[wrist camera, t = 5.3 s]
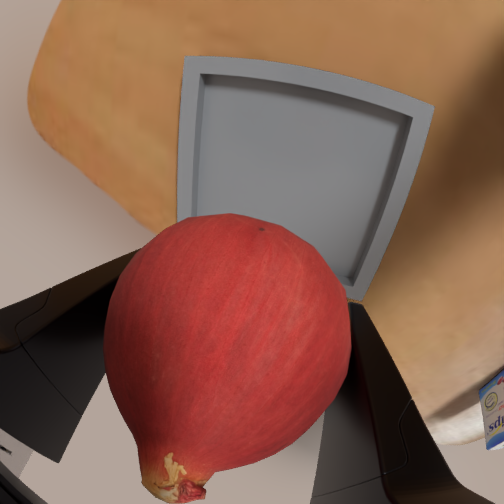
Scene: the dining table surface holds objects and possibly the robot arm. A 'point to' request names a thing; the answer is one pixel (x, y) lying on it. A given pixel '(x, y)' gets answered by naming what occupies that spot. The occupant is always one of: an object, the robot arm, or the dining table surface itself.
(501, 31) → the dining table surface
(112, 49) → the dining table surface
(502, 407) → the medicine box
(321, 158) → the dish
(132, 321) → the onion
